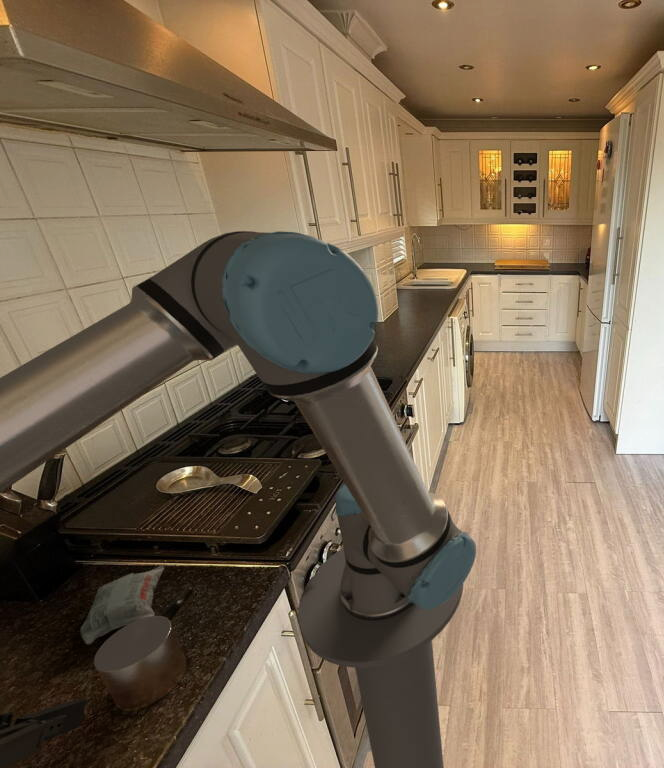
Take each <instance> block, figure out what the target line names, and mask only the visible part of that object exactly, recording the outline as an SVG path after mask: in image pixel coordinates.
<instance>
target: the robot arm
mask: <svg viewBox="0 0 664 768" xmlns="http://www.w3.org/2000/svg"><path fill="white" fill-rule="evenodd" d="M378 322H379V303H378V298H377V295H376V291H375V289H374V286H373V284H372V281H371V279H370V278H369V276H368V274H367V272H366V271H365V270H364V269H363V268H362V266H361V265H360V264H359V263H358V262H357V260H356V259H354V258H353V257H352V256H351V255H350V254H349V253H347V252H346V251H345V250H343V249H342V248H340V247H338V246H336V245H335V244H332V243H330V242H328V241H325V240H323V239H320V238H316V237H314V236H312V235H308V234H304V233H301V232H294V231H283V230H282V231H273V232H263V231H262V232H261V231H260V232H259V231H248V230H247V231H246V230H237V231H236V230H235V231H230V232H224V233H222V234H219V235H216V236H214V237H212V238H210V239H208V240H206V241H205V242H202V243H201V244H200V245H199V246H197V247H195V248H193V249H192V250H190V251H188V253H186V254H184V255H183V256H181V257H180V258H178V259H177V260H175V261H173V262H172V263H171V264H169V265H168V266H166V267H165V268H163V269H161V270H160V271H157V273H155V274H154V275H151V276H150V277H148V278H147V279H145V280H143V281H142V282H140V283H138V284H136V285H134V286H133V287H132V288H131V298H130V301H129V303H128V304H125V305H124V306H122V307H120V308H119V309H117V310H115V311H114V312H112V313H110V314H109V315H106V316H105V317H103V318H101V319H100V320H97V321H96V322H95V323H94V322H93V324H91V325H89V326H87V327H85V328H84V329H82V330H80V331H79V332H77V333H75V334H73V335H72V336H70V337H69V338H67V339H64V341H61V342H60V343H58V344H56V345H54V346H53V347H51V348H49V349H47V350H46V351H44V352H42V353H40V354H39V355H38V356H35V357H34V358H32V359H30V360H28V361H27V362H25V363H23V364H22V365H20V366H18V367H16V368H15V369H13V370H11V371H9V372H8V373H6V374H4V375H3V376H0V494H1V493H3V492H4V491H6V490H8V488H10V487H11V486H13V485H14V484H16V483H17V482H19V481H20V480H22V479H24V478H25V477H26V476H28V475H29V474H31V473H32V472H34V471H36V470H37V469H38V468H40V467H41V466H42V465H44V464H45V463H46V462H48V461H50V460H51V459H52V458H54V457H56V456H57V455H58V454H60V453H61V452H63V451H64V450H65V449H67V448H69V447H70V446H71V445H73V444H74V443H76V442H77V441H79V440H80V439H82V438H83V437H85V436H86V435H87V434H89V433H91V432H92V431H93V430H95V429H96V428H98V427H100V426H101V425H102V424H104V423H105V422H106V421H108V420H109V419H111V418H113V417H114V416H115V415H116V414H118V413H120V412H121V411H123V410H124V409H126V408H127V407H129V406H130V405H131V404H133V403H134V402H136V401H137V400H139V399H140V398H142V396H145V395H146V394H147V393H149V392H150V391H152V390H154V389H155V388H156V387H158V386H159V385H160V384H162V383H163V382H165V381H167V380H168V379H169V378H171V377H172V376H174V375H175V374H176V373H178V372H180V371H181V370H183V369H184V368H185V367H187V366H188V365H190V364H191V363H193V362H195V361H210V362H211V361H213V360H215V359H216V358H218V357H219V356H221V355H223V354H224V353H225V352H226V351H228V350H230V349H231V348H234V347H236V346H238V348H239V349H240V350H241V353H242V354H243V355H244V357H245V359H246V360H247V362H248V363H249V364H250V366H251V367H252V369H253V370H254V373H255V374H256V375H257V376H258V379H259V380H260V381H261V383H262V384H263V386H264V387H265V389H266V391H267V392H268V393H269V394H270V395H271V396H273V397H275V398H278V399H285V400H291V401H293V402H294V403H295V406H296V407H297V408H298V410H299V412H300V414H301V415H302V417H303V418H304V420H305V421H306V424H307V425H308V426H309V428H310V429H311V431H312V433H313V434H314V436H315V438H316V439H317V441H318V443H319V444H320V446H321V447H322V449H323V451H324V452H325V454H326V456H327V457H328V459H329V460H330V462H331V464H332V465H333V467H334V468H335V470H336V472H337V473H338V475H339V477H340V479H341V480H342V481H343V483H344V484H342V485H341V486H340V488H339V489H338V491H337V492H336V495H335V499H334V501H335V514H336V516H337V521H338V527H339V532H340V533H339V534H340V537H341V543H342V548H344V553H345V558H346V564H345V568H344V572H343V576H342V581H341V589H340V593H341V601H342V603H343V606H344V608H345V609H346V610H347V611H348V613H350V614H351V615H352V616H354V617H356V618H359V619H362V620H369V621H376V620H383V619H387V618H390V617H393V616H395V615H398V614H400V613H401V612H403V611H405V610H406V609H408V608H409V607H410V606H411V605H412V604H413V603H414V604H415V605H417V606H418V607H419V608H421V609H424V610H430V609H434V608H436V607H438V606H440V605H442V604H444V603H445V602H446V601H448V600H449V599H450V598H451V597H452V596H453V595H454V594H455V593H456V592H457V591H458V589H459V588H460V587H461V586H462V584H463V585H464V583H465V581H466V580H467V578H468V577H469V575H470V574H471V571H472V568H473V566H474V564H475V560H476V557H477V545H476V542H475V540H474V539H473V538H472V537H471V536H470V535H469V533H468V532H467V531H462V530H461V529H459V528H458V526H456V524H455V523H454V521H453V519H452V517H451V514H450V512H449V510H448V507H447V505H446V503H445V501H444V500H443V499H442V497H440V496H439V495H437V494H436V493H434V492H431V491H428V489H427V487H426V485H425V483H424V481H423V478H422V476H421V474H420V472H419V469H418V467H417V465H416V463H415V461H414V458H413V455H412V453H411V452H410V449H409V447H408V445H407V443H406V441H405V438H404V436H403V434H402V432H401V430H400V428H399V425H398V423H397V421H396V419H395V416H394V414H393V412H392V410H391V408H390V405H389V403H388V401H387V399H386V397H385V394H384V392H383V390H382V388H381V386H380V384H379V381H378V379H377V377H376V375H375V372H374V370H373V368H372V364H373V363H374V360H375V359H376V357H377V354H378V351H379V348H378V344H377V342H376V340H375V338H374V337H375V334H376V332H375V330H374V329H375V325H376V323H378ZM87 702H88V699H87V698H80V699H72V700H69V701H66V702H63V703H59V704H57V705H54V706H51V707H48V708H45V709H42V710H38V711H35V712H33V713H29V714H26V715H23V716H20V717H18V718H16V719H15V722H13V719H14V716H15V714H16V712H15V711H13V712H5V713H1V714H0V768H13V767H14V766H16V765H18V764H19V763H21V762H24V761H25V760H27V759H29V758H30V757H31V758H32V757H33V756H34V755H37V754H39V753H40V752H41V750H42V747H43V744H44V742H45V741H48V740H50V739H53V738H55V737H58V736H61V735H63V734H65V733H68V732H71V731H73V730H75V729H78V728H80V725H81V722H82V721H81V720H82V718H83V715H84V712H85V709H86V706H87ZM12 722H13V723H12Z"/></svg>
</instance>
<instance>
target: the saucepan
mask: <svg viewBox="0 0 664 768" xmlns="http://www.w3.org/2000/svg"><path fill="white" fill-rule="evenodd" d="M193 593H194V587H193V586H186V587H185V588H184V589H182V591H181V592H180V593H179V594H178V595H177V597H176V598H175V599H174V600H173V602H172V603H171V604H170V605H169V607H168V608H167V609H166V610H165V611H164V613H163V614H162V615H155V616H151V617H146V618H143V619H140V620H137V621H135V622H133V623H131V624H129V625H126V626H123V627H121V628H119V630H117V631H116V632H115V633H113V634H112V635H111V636H109V637H108V638H107V639H106V640H105V641H104V642H103V644H101V646H100V647H99V649H98V650H97V652H96V653H95V656H94V659H93V664H94V665H93V666H94V667H95V669H96V671H97V673H98V675H99V676H100V678H101V680H102V683H103V684H104V686H105V687H106V690H107V691H108V692H109V695H110V697H111V698H112V700H113V702H114V704H115V706H116V707H117V708H118V709H119V710H121V711H124V712H132V711H138V710H141V709H144V708H147V707H148V706H149V707H150V706H151V705H153V704H155V703H156V702H158V701H160V700H161V699H163V698H164V697H165V696H166V695H168V694H169V693H170V692H171V691H172V690H174V688H175V687H176V686H177V685H178V684H179V683H180V681H182V678H183V677H184V676H185V673H186V670H187V666H188V661H187V658H186V655H185V653H184V650H183V648H182V646H181V644H180V641H179V638H178V637H177V634H176V632H175V629H174V627H173V624H172V622H171V621H172V620H173V618H174V617H175V616H176V614H177V613H179V611H180V610H181V608H182V607H183V606H184V604H185V603H186V602H187V600H189V598H190V597H191V595H193Z"/></svg>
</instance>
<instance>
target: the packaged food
mask: <svg viewBox="0 0 664 768" xmlns="http://www.w3.org/2000/svg"><path fill="white" fill-rule="evenodd" d="M164 570H165V566H164V565H160V566H157V567H156V568H153V569H151V570H149V571H144V572H139V573H135V572H131V573H129V574H126V575H123V576H121V577H120V578H117V579H115V580H112V581H111V582H108V583H106V584H103V585H102V586H100V587H99V588H98V589H97V592H96V594H95V598H94V601H93V603H92V605H91V607H90V610H89V612H88V615H87V617H86V619H85V620H84V622H83V623H82V625H81V626H80V637H81V639H82V640H83V642H84V643H85V644H86V645H91V644H92V643H94V642H95V640H96V639H97V638H99V637H103V636H104V635H105V636H106V635H107V634H108V633H110V632H112V631H114V630H118V629H122V628H123V627H125V626H127V625H129V624H131V623H133V622H135V621H137V620H140V619H143V618H146V617H151V616H156V615H155V614H156V613H155V612H154V610H153V608H152V604H153V599H154V592H155V590H156V587H157V585H158V583H159V580H160V578H161V576H162V574H163V572H164Z"/></svg>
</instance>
